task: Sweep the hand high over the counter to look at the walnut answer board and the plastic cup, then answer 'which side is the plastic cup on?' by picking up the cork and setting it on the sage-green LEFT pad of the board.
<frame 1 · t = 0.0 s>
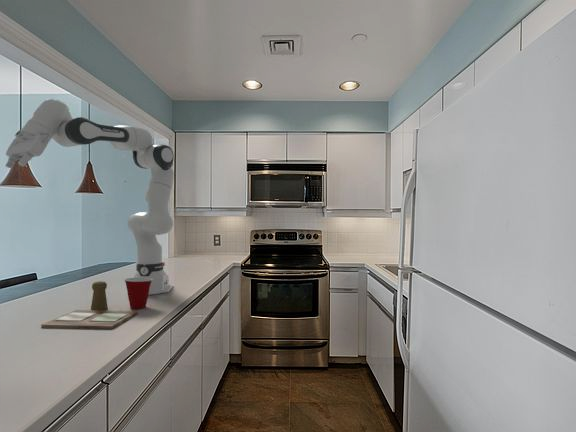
hand: (14, 166, 122), 54 cm above the worktop, tool tilted 30°, fingers open, 8 cm apart
answer board: (92, 320, 124), on the worktop
plastic cup: (138, 308, 142), on the worktop
cork: (99, 309, 138), on the worktop
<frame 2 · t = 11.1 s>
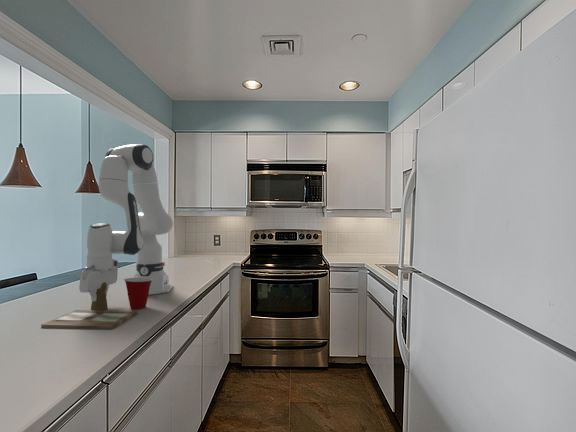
hand: (99, 299, 138), 4 cm above the worktop, tool pointing down, fingers closed on cork, 5 cm apart
cork: (99, 309, 138), on the worktop, touching gripper
everything else where it was.
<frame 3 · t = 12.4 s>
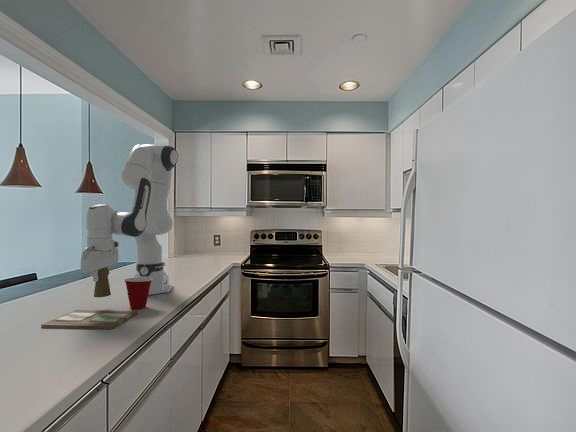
hand: (100, 279, 139), 12 cm above the worktop, tool pointing down, fingers closed on cork, 4 cm apart
cork: (102, 295, 139), point 5 cm above the worktop, touching gripper
everything else where it was.
when the fingers open (7 cm above the worktop, at t = 17.5 s): cork stays where it is, resting on answer board.
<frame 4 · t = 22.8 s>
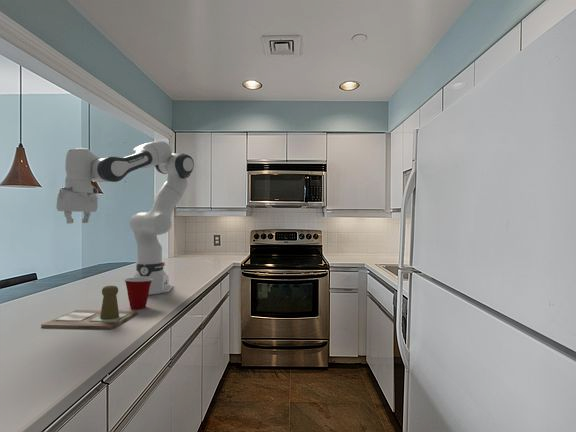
hand: (77, 223, 139), 34 cm above the worktop, tool pointing down, fingers open, 8 cm apart
cork: (109, 317, 124), point 1 cm above the worktop, touching answer board
everything else where it was.
at the end: cork inside the target area on the answer board (0.1 cm from its centre), point 1.1 cm above the answer board's base; cork tilted 0°; the gripper is holding nothing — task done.
